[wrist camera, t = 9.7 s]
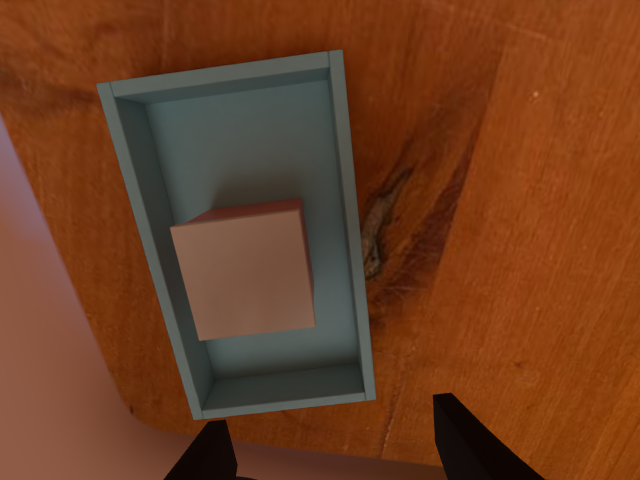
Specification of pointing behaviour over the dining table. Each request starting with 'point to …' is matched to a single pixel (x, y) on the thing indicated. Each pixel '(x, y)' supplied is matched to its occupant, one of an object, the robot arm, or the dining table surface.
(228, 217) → the two-tone cube
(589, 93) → the dining table surface
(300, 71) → the shallow rectangular tray
